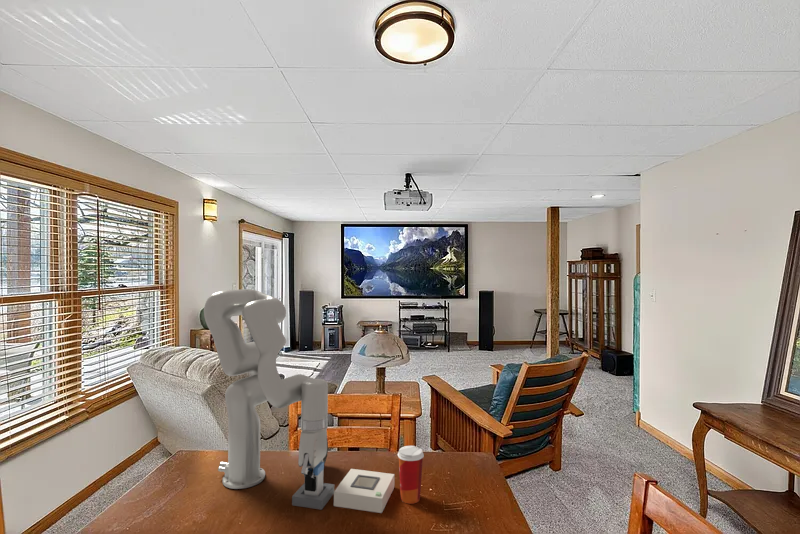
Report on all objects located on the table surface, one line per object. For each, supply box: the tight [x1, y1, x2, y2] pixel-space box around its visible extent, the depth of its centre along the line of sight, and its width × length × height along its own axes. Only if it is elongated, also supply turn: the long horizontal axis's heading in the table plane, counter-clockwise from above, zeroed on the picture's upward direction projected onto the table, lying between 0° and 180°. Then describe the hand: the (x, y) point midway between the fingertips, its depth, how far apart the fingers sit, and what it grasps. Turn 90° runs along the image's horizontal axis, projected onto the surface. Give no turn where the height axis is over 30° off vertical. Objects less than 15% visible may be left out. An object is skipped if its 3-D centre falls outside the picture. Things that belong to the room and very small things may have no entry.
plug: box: [304, 462, 325, 497], centre depth 122 cm, size 4×4×10 cm
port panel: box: [333, 468, 395, 514], centre depth 124 cm, size 14×14×4 cm
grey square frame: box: [291, 482, 335, 511], centre depth 122 cm, size 9×9×2 cm
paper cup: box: [397, 445, 425, 505], centre depth 123 cm, size 8×8×14 cm
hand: (313, 485), depth 122 cm, fingers closed on plug, 4 cm apart
